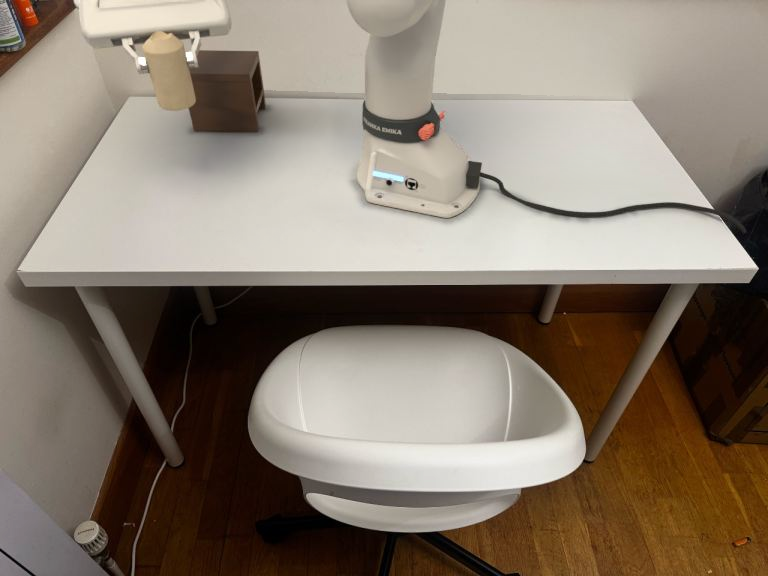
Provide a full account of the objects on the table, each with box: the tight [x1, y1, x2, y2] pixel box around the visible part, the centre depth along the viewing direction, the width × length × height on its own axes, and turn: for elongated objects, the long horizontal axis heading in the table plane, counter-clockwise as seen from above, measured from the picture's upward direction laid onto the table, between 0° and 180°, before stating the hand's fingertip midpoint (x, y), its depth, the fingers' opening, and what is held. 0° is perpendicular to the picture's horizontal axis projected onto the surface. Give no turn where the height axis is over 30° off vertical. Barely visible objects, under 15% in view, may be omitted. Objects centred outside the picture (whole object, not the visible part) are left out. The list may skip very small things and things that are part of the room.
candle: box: [141, 31, 196, 112], centre depth 81 cm, size 6×6×10 cm
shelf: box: [188, 49, 267, 133], centre depth 114 cm, size 13×11×12 cm
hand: (169, 69), depth 81 cm, fingers closed on candle, 5 cm apart
